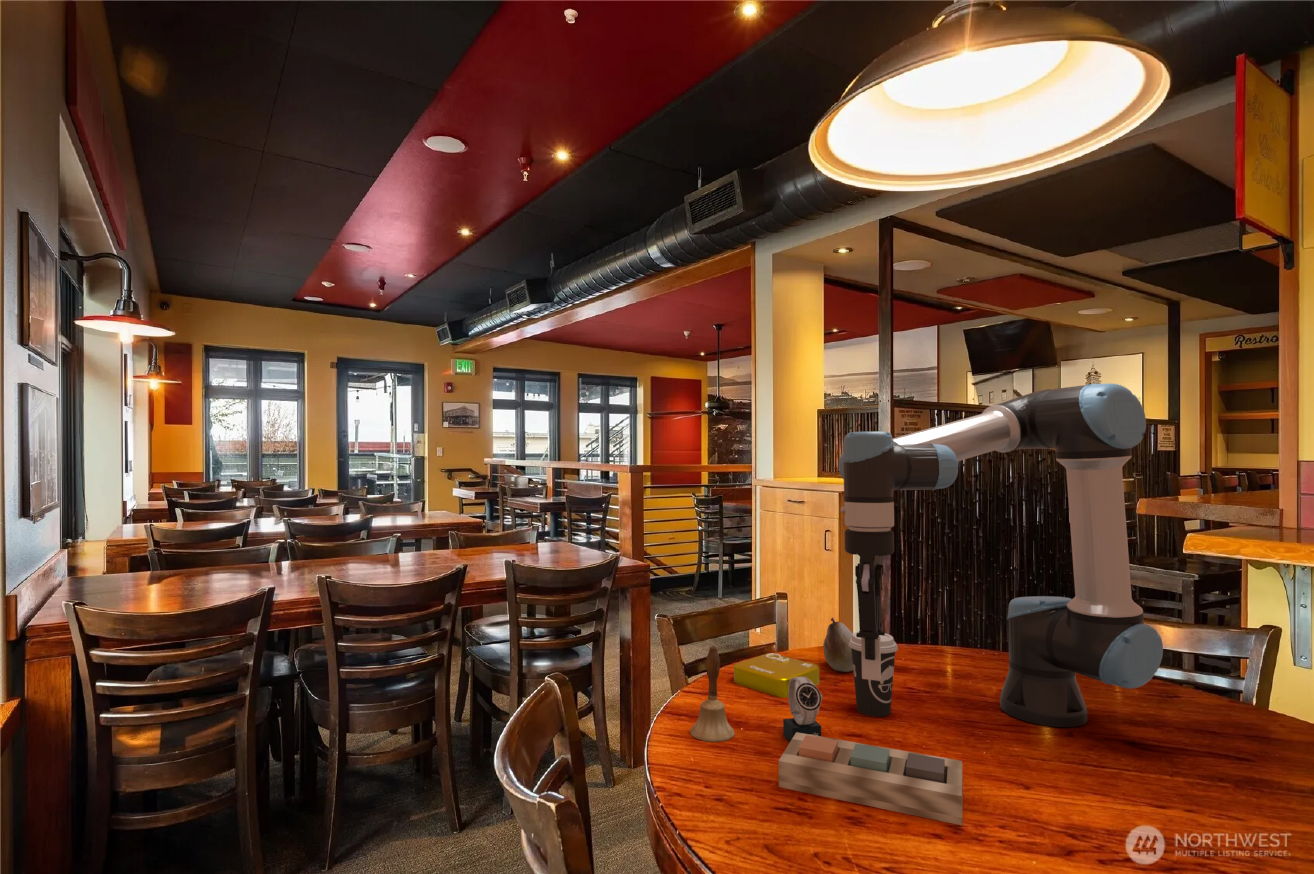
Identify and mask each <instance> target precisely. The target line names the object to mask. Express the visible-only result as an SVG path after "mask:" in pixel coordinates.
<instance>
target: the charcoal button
mask: <svg viewBox="0 0 1314 874" xmlns="http://www.w3.org/2000/svg"><path fill="white" fill-rule="evenodd" d="M906 776H908V777H913V778H918V779H924V780H929V781H934V782H940V783H945V759H941V758H935V757H929V756H924V755H918V754H912V753H908V758H907V763H906Z"/></svg>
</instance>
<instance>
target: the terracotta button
mask: <svg viewBox="0 0 1314 874" xmlns="http://www.w3.org/2000/svg"><path fill="white" fill-rule="evenodd" d="M837 755H838V741H837V740H831V739H826V738H820V737H814V736H808V735H806V736H805V737H804V739H803V741H802V743H801V744H800V746H799V756H801V757H807V758H812V759H817V760H823V761H828V762H833V763H834V762H835V760H836V758H837Z"/></svg>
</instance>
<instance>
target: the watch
mask: <svg viewBox="0 0 1314 874" xmlns="http://www.w3.org/2000/svg"><path fill="white" fill-rule="evenodd" d="M823 697H824V696H823V694H821V692H820V689H819V688H818V687H817V685H816V686H815V685H814V684H813V683H812V681H809V679H808V678H806V677H793V678H791V679H790V682H789V693H788V697H787V698H788V705H789V706H788V707H789V711H790V714H791V715H792V717H793V718H792V717H791V718H783V719H782V730H783V732H782V733H783V735H782V736H783V738H784V739H785V740H786V741H787V740H788V741H787V742H788V744H789V743H790V742H791V740H792V738H793V737H794V735H795V734H796V732H798V733H804V734H810V735H815V736H821V737H822V725H821V724H820V723H819V722H818V721H817V720H816V719H817V715H818V714H819V711H820V706H821V704H822V699H823Z"/></svg>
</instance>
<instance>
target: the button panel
mask: <svg viewBox="0 0 1314 874" xmlns="http://www.w3.org/2000/svg"><path fill="white" fill-rule="evenodd" d="M806 735H808V736H814V737H820V738H826V739H831V740H837V741H838V755H837V758H836V760H835V762H834V763H833V762H828V761H823V760H817V759H812V758H807V757H801V756H799V746H800V744H801V743H802V741H803V739H804V737H805V736H806ZM855 744H860V745H866V746H872V747H878V748H883V749H889V750H890V769H889V773H886V772H881V771H876V770H870V769H865V768H860V767H854V766H851V754H852V752H853V749H854V746H855ZM908 753H912V754H918V755H924V756H929V757H935V758H941V759H945V783H940V782H934V781H929V780H924V779H918V778H913V777H908V776H906V763H907V758H908ZM963 782H964V781H963V760H959V759H954V758H948V757H942V756H935V755H930V754H924V753H918V752H912V751H906V750H901V749H895V748H889V747H885V746H884V747H883V746H880V745H879V746H878V745H872V744H866V743H860V742H856V741H851V740H849V741H848V740H843V739H839V738H833V737H826V736H822V735H821V736H815V735H810V734H804V733H798V732H796V734H795V735H794V737H793V738H792V740H791V742H790V743H789V742H788V745H787V747H786V748H785V750H784V752H783V753H782V754H781V756H780V758H779V759H778V787H779V788H782V789H786V790H792V791H795V792H796V791H797V792H801V793H805V794H811V795H816V796H821V797H825V798H829V799H835V800H840V801H843V802H844V801H845V802H848V803H853V804H859V805H864V806H868V807H873V808H877V809H883V810H888V811H892V812H896V813H901V814H905V815H910V816H916V817H920V818H925V819H929V820H934V821H940V822H944V823H949V824H954V825H959V826H963V796H964V794H963V793H964V792H963V788H964V787H963V786H964V785H963Z"/></svg>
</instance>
